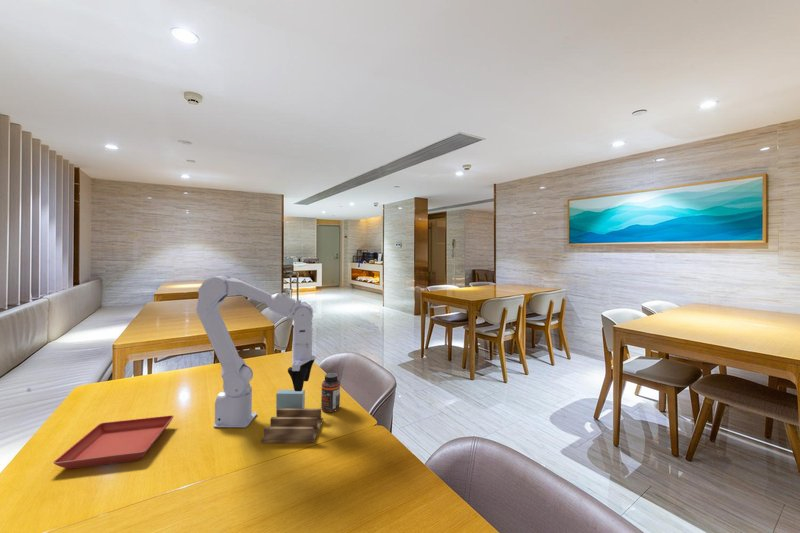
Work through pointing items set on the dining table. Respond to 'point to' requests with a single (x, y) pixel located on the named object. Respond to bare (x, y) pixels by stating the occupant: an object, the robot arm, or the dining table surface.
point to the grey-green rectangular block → (290, 399)
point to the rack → (293, 426)
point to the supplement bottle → (330, 393)
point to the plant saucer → (114, 442)
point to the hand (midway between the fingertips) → (301, 385)
